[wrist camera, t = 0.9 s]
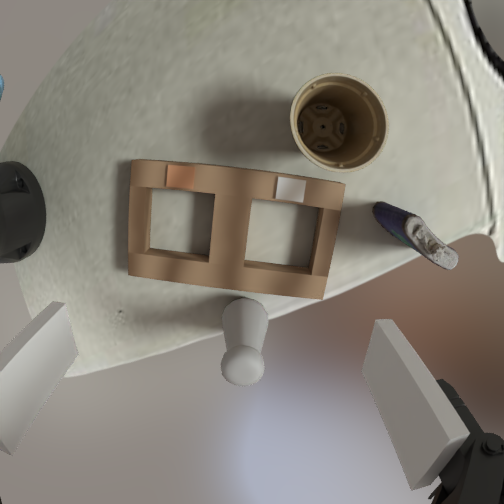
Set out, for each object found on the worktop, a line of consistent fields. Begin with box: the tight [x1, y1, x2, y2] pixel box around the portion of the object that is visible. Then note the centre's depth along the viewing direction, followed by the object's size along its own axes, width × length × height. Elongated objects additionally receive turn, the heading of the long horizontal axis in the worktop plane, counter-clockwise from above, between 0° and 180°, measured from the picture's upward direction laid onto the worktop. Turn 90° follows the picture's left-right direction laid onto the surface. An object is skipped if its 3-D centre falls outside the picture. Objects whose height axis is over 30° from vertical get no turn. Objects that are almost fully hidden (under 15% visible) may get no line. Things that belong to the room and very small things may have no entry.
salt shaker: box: [221, 297, 268, 386], centre depth 35 cm, size 6×6×13 cm
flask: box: [372, 202, 458, 270], centre depth 32 cm, size 9×3×11 cm, turn 58°
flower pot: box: [290, 73, 389, 173], centre depth 30 cm, size 9×9×9 cm
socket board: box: [128, 159, 345, 300], centre depth 36 cm, size 24×14×3 cm, turn 83°
